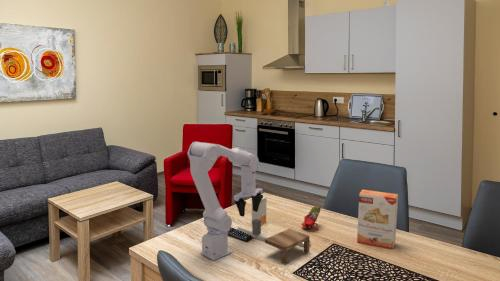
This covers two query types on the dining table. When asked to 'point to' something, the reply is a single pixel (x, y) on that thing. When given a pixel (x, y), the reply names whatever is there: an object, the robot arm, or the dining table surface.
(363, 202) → the cracker box
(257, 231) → the grey hammer
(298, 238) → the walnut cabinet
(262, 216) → the skincare box
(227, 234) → the robot arm
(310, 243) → the steel disc
